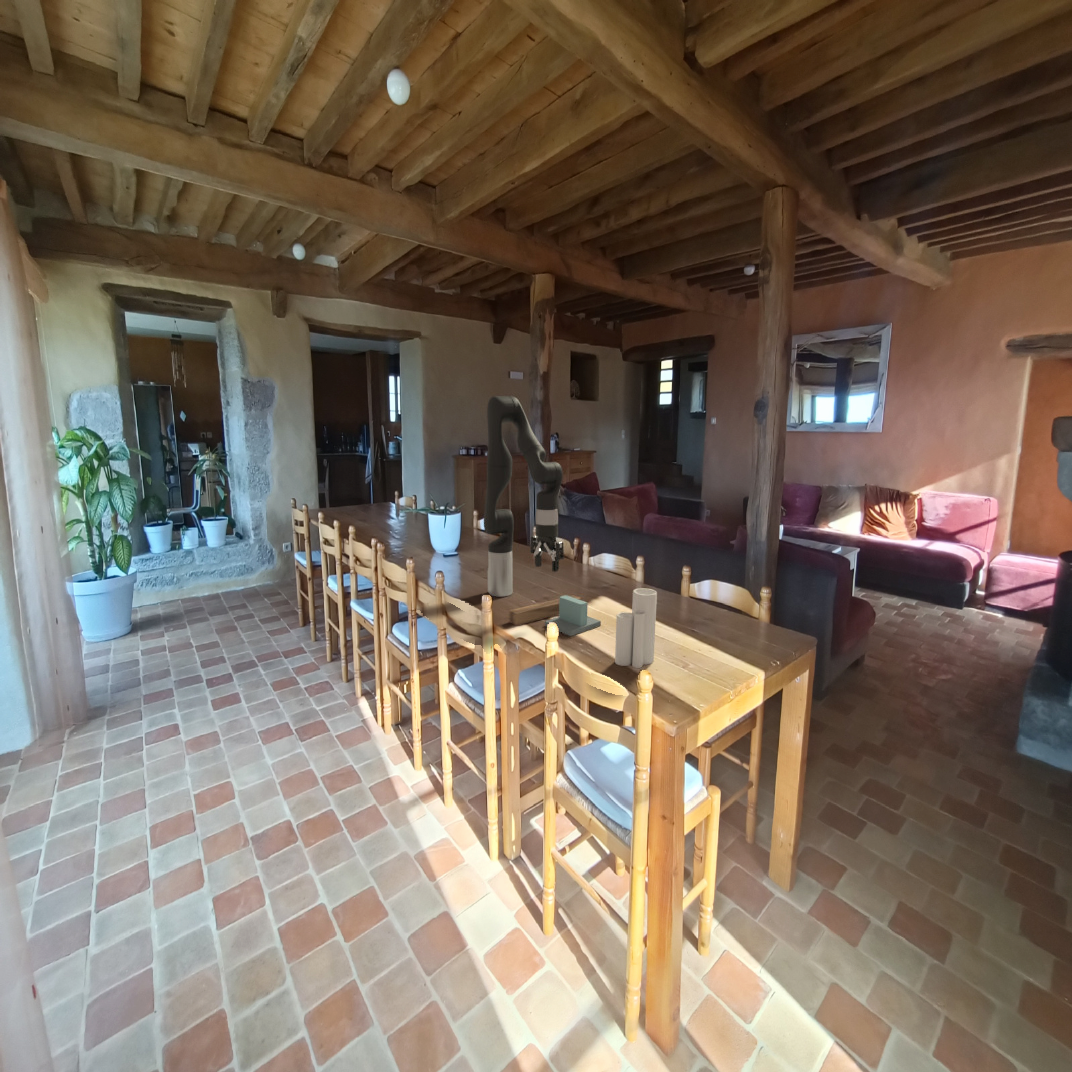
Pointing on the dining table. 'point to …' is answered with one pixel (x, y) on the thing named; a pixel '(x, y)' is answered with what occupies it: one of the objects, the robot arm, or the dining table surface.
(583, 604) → the stand
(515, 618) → the walnut rod
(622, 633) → the grey joined cylinders
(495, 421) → the robot arm
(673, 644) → the dining table surface
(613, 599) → the dining table surface
